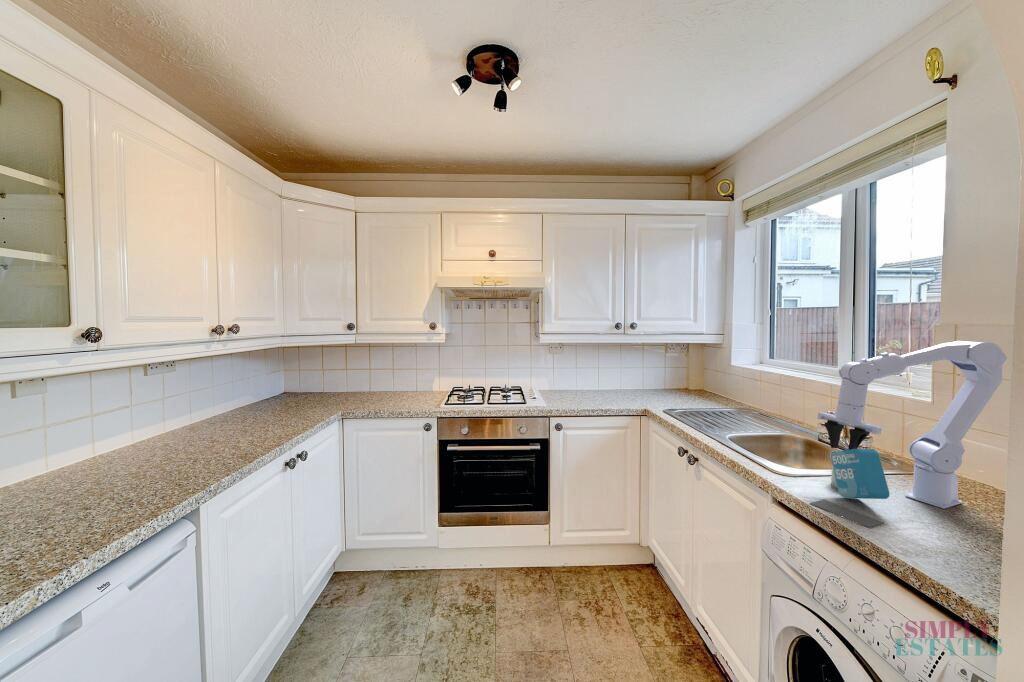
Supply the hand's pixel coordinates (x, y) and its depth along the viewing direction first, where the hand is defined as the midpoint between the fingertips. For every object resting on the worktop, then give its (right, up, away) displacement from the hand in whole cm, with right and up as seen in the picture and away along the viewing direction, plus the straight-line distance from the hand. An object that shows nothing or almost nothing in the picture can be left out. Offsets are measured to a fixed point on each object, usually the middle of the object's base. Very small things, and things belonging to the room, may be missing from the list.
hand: (842, 450), depth 112 cm
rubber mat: (-11, -12, -13) cm, 21 cm away
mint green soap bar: (+3, -11, +3) cm, 12 cm away
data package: (-3, -10, -10) cm, 14 cm away
